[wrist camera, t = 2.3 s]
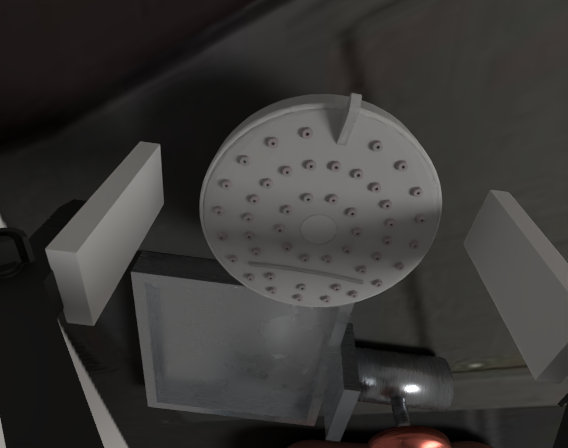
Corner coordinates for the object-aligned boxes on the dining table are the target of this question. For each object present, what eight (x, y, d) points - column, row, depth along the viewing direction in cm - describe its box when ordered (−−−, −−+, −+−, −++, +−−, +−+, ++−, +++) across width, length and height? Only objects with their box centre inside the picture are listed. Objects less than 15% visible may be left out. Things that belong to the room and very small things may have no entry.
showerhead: (509, 126, 12) (398, 339, 17) (441, 70, 18) (375, 242, 23) (199, 67, 11) (188, 306, 17) (237, 30, 17) (219, 215, 23)
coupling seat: (156, 384, 33) (121, 481, 27) (142, 250, 25) (87, 346, 18) (405, 413, 33) (427, 515, 27) (472, 293, 25) (525, 400, 19)
